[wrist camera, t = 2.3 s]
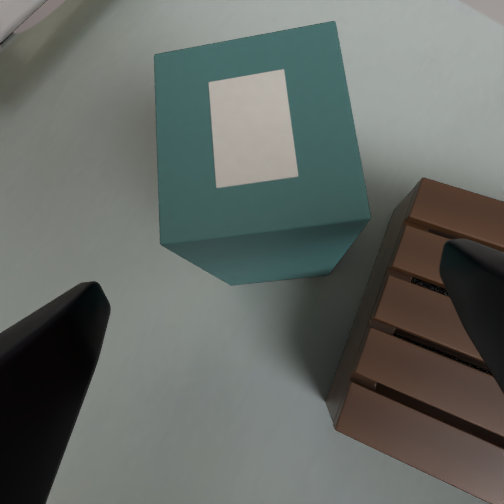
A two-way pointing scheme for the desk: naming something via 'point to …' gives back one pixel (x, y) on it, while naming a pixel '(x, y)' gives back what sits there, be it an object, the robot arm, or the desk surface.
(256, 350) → the desk surface
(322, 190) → the tissue box
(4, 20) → the white file holder
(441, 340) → the wooden pallet
